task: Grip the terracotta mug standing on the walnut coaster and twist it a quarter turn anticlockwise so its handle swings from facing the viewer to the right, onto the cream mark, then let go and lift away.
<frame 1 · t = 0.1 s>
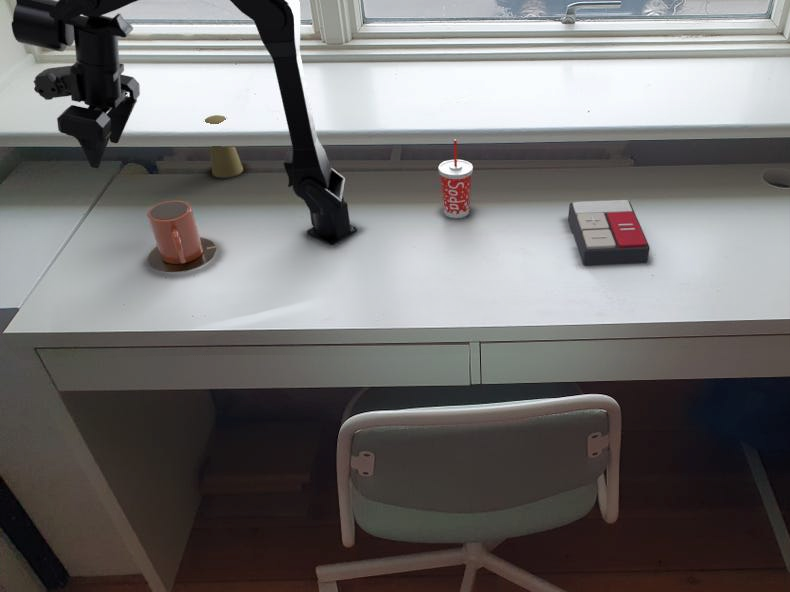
hand: (104, 154, 119), 15 cm above the table, tool pointing down, fingers open, 9 cm apart
coaster: (183, 257, 124), on the table
beverage cup: (456, 213, 136), on the table
mug: (176, 236, 120), point 5 cm above the table, hinge at 0.0°
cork: (227, 171, 149), on the table
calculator: (605, 241, 129), on the table
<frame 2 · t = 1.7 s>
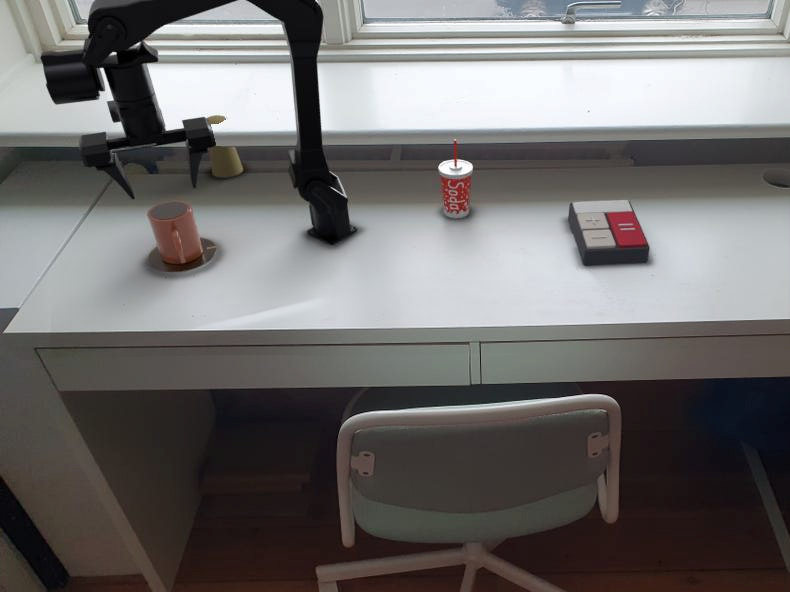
hand: (164, 192, 116), 12 cm above the table, tool pointing down, fingers open, 9 cm apart
nothing on the table moved.
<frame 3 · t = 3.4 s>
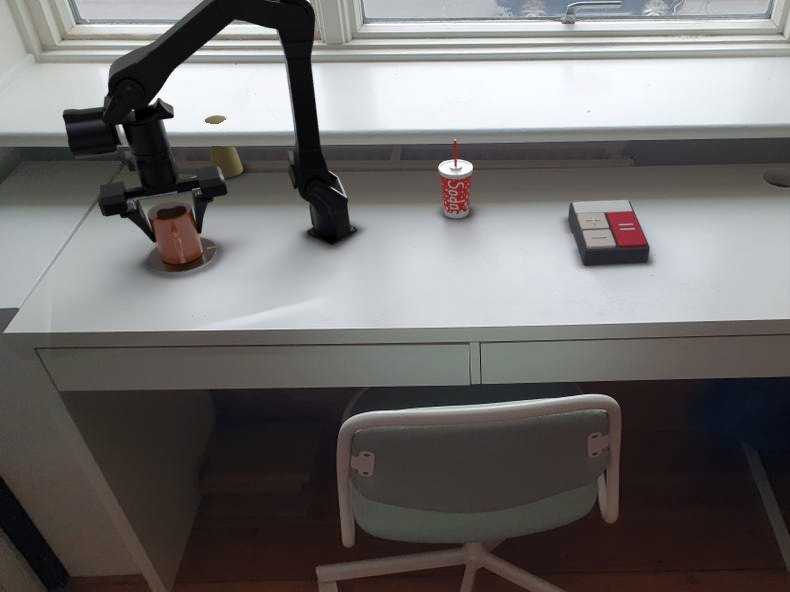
hand: (177, 237, 122), 4 cm above the table, tool pointing down, fingers closed on mug, 7 cm apart
mug: (176, 236, 120), point 5 cm above the table, hinge at 0.0°, touching gripper
everything else where it was.
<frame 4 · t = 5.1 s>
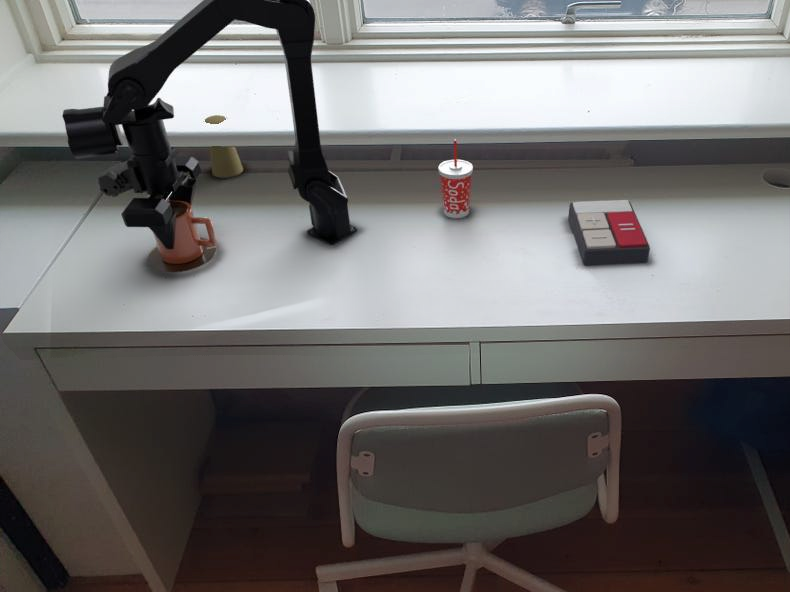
hand: (177, 237, 122), 4 cm above the table, tool pointing down, fingers closed on mug, 7 cm apart
mug: (184, 232, 121), point 5 cm above the table, hinge at 65.9°, touching gripper
everything else where it was.
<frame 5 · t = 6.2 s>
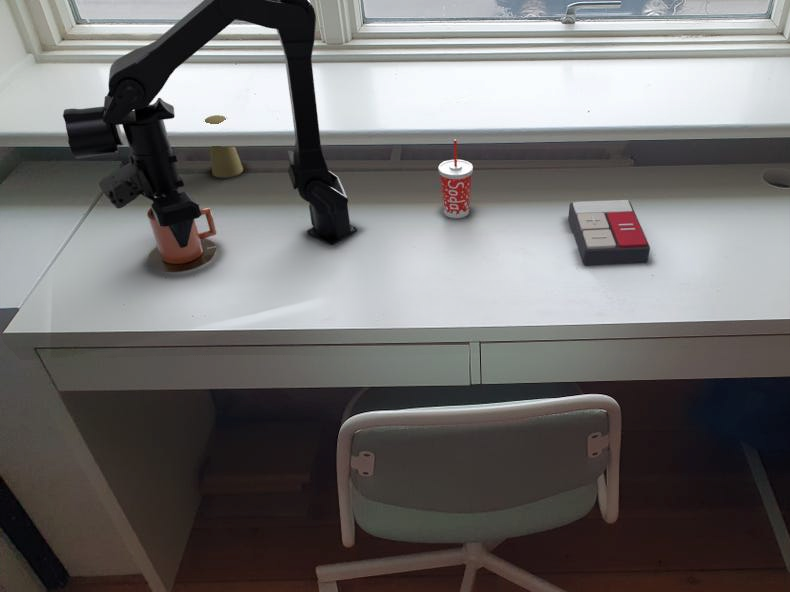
hand: (177, 236, 122), 4 cm above the table, tool pointing down, fingers closed on mug, 7 cm apart
mug: (184, 229, 121), point 5 cm above the table, hinge at 100.3°, touching gripper
everything else where it was.
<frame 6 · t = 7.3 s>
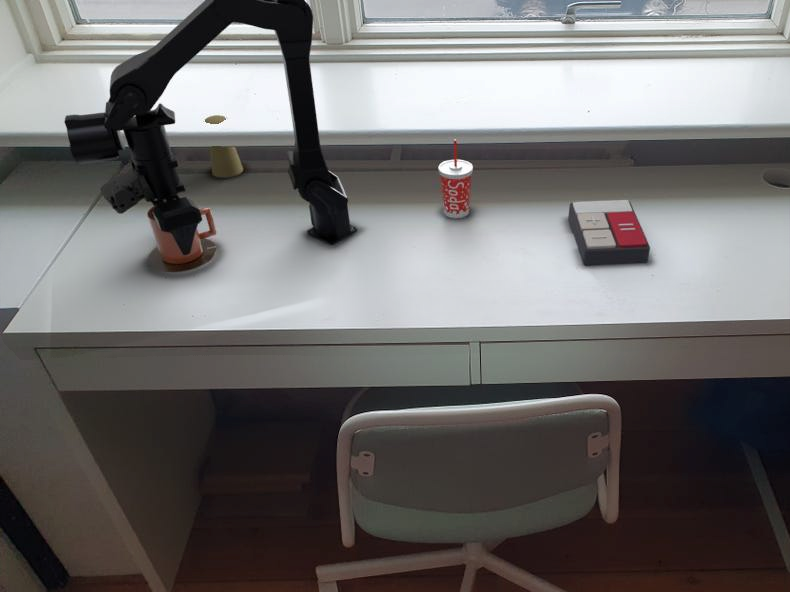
hand: (178, 241, 122), 3 cm above the table, tool pointing down, fingers open, 9 cm apart
mug: (184, 229, 121), point 5 cm above the table, hinge at 100.5°
everything else where it was.
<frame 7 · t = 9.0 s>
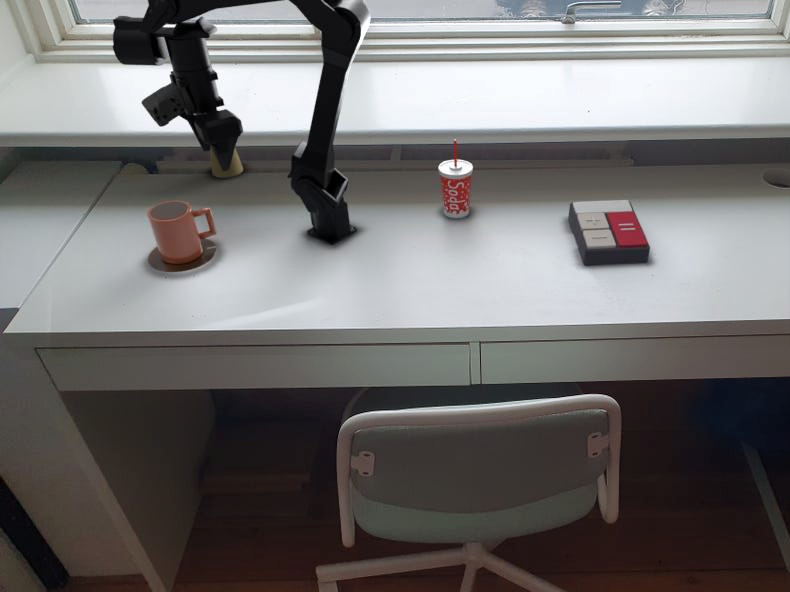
hand: (216, 160, 123), 13 cm above the table, tool pointing down, fingers open, 9 cm apart
nothing on the table moved.
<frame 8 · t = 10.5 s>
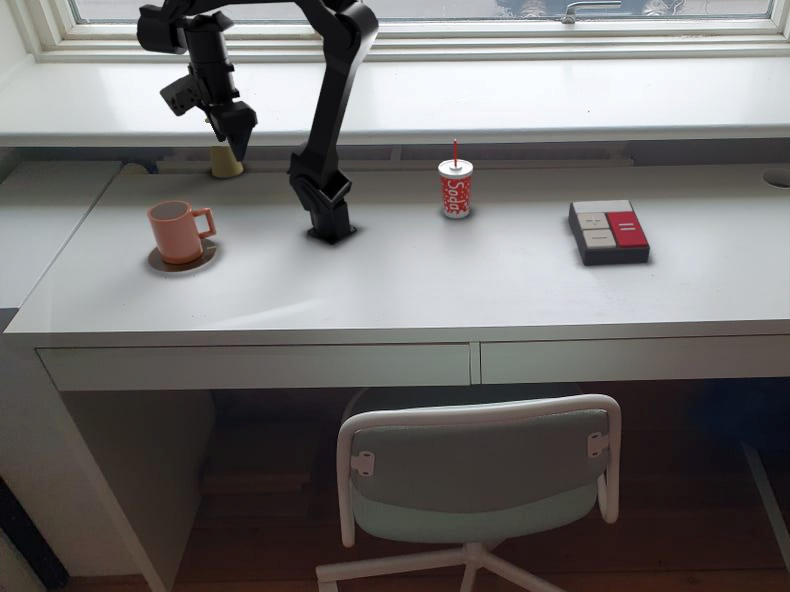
hand: (230, 151, 126), 13 cm above the table, tool pointing down, fingers open, 9 cm apart
nothing on the table moved.
at the end: mug at +100° (first picture: +0°); the gripper is holding nothing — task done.
